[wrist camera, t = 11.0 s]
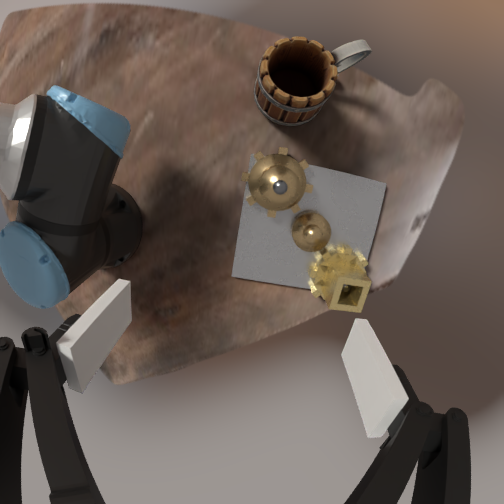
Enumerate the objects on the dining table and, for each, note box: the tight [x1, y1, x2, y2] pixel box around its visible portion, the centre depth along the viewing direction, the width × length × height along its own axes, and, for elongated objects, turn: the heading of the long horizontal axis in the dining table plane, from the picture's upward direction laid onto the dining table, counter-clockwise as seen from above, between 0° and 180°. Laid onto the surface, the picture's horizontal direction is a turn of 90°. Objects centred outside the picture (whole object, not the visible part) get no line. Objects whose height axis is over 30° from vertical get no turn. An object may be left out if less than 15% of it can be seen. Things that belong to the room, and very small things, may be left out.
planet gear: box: [308, 244, 372, 313], centre depth 44 cm, size 10×10×8 cm
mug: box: [254, 37, 372, 126], centre depth 32 cm, size 16×11×15 cm
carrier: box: [232, 147, 386, 292], centre depth 42 cm, size 23×22×10 cm
